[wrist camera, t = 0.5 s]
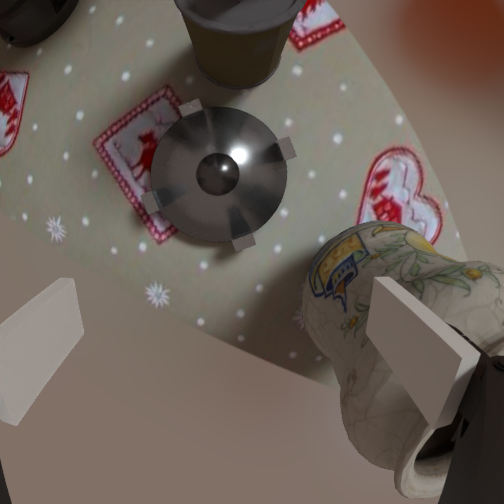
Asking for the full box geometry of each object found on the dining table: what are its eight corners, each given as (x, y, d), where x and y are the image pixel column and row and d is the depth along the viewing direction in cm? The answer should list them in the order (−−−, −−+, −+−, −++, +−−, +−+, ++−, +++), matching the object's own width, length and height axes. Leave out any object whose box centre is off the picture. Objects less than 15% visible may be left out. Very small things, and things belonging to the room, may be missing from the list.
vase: (428, 287, 43) (571, 398, 14) (333, 358, 45) (412, 529, 16) (374, 185, 39) (576, 230, 10) (263, 266, 41) (313, 460, 12)
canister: (243, 105, 36) (250, 45, 17) (179, 58, 34) (134, -24, 14) (299, 47, 34) (348, -37, 15) (236, 3, 32) (238, -97, 13)
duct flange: (127, 137, 36) (117, 135, 33) (261, 82, 35) (263, 74, 32) (179, 266, 40) (174, 275, 37) (312, 216, 40) (319, 220, 36)
